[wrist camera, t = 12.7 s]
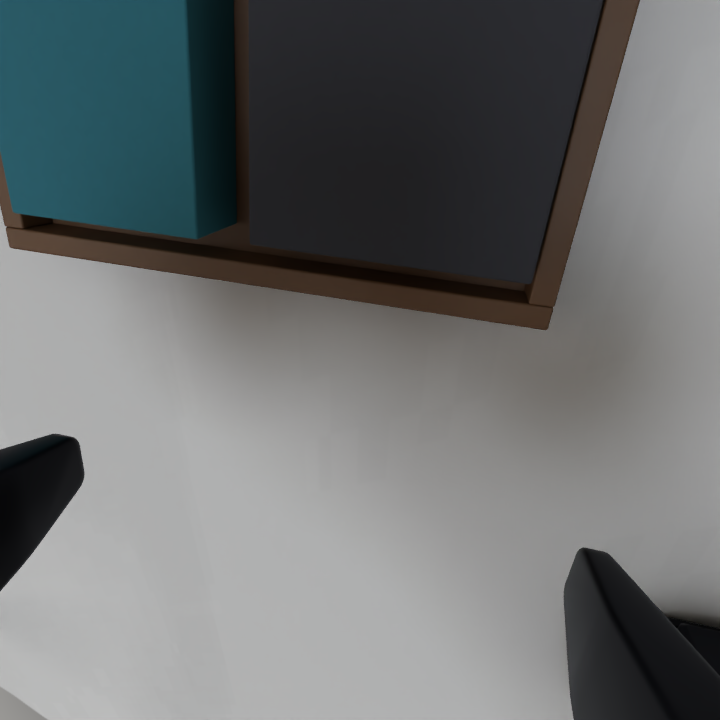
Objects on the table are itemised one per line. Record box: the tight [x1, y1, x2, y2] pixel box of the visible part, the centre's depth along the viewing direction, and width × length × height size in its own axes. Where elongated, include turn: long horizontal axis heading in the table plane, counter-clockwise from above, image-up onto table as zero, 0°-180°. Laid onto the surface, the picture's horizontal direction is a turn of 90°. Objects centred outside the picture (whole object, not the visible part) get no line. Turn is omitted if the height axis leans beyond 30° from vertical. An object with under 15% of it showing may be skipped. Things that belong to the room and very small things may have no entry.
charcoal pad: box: [248, 0, 603, 284], centre depth 14 cm, size 8×8×3 cm
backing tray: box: [0, 0, 640, 330], centre depth 16 cm, size 12×20×2 cm, turn 85°
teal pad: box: [0, 0, 237, 239], centre depth 15 cm, size 8×6×3 cm
